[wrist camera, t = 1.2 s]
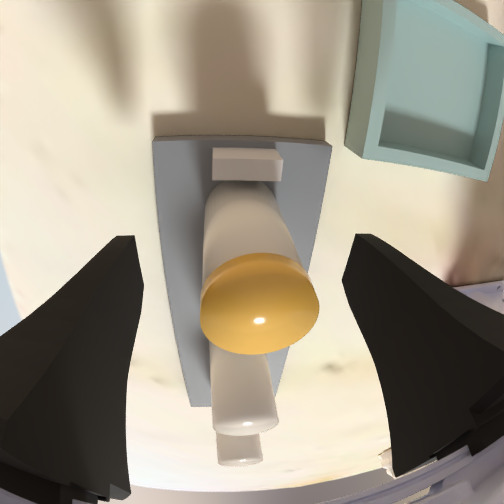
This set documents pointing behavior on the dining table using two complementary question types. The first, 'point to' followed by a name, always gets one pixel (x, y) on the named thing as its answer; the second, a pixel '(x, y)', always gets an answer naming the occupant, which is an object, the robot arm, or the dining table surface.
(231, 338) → the cylinder
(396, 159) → the tray
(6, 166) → the dining table surface
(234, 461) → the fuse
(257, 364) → the fuse middle
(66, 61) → the dining table surface
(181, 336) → the fuse panel
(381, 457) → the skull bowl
